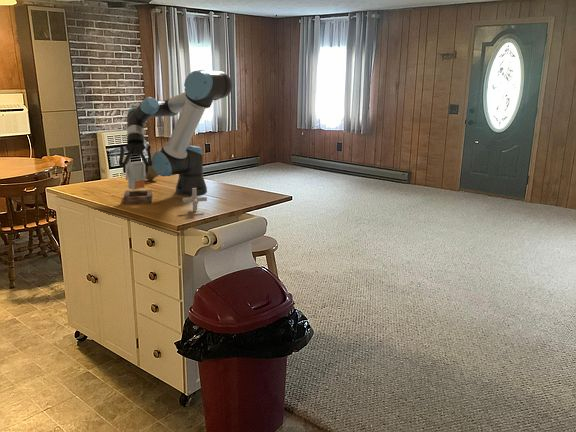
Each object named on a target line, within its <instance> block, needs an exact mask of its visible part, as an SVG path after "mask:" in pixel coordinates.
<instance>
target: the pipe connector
mask: <svg viewBox="0 0 576 432" xmlns="http://www.w3.org/2000/svg"><path fill="white" fill-rule="evenodd" d="M190 196H191V197H183V198H182V203H192V212H193V211H196V210H197V211H198V204H199V202H207V201H208V200H207V199H208V197H207V196H201V197H199V196H198V195H197V188H192V195H190Z"/></svg>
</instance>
